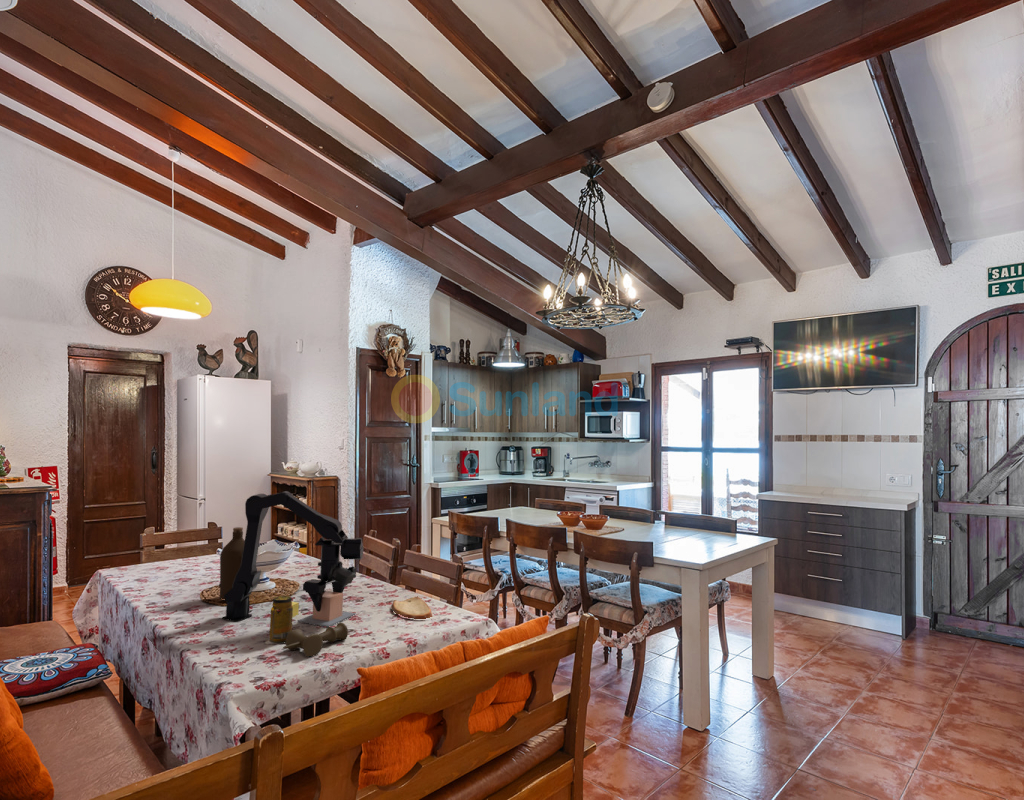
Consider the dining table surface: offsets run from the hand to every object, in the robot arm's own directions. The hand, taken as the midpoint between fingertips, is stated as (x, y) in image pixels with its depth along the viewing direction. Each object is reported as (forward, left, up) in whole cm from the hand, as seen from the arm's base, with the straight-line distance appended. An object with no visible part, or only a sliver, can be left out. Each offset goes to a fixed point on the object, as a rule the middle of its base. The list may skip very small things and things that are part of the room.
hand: (327, 607), depth 190 cm
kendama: (-23, -14, -4) cm, 27 cm away
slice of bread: (+19, -21, -4) cm, 29 cm away
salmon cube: (0, 0, -3) cm, 3 cm away
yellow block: (-3, +13, -4) cm, 14 cm away
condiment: (-21, -1, -4) cm, 21 cm away
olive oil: (+4, +44, -4) cm, 44 cm away
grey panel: (0, 0, -4) cm, 4 cm away
